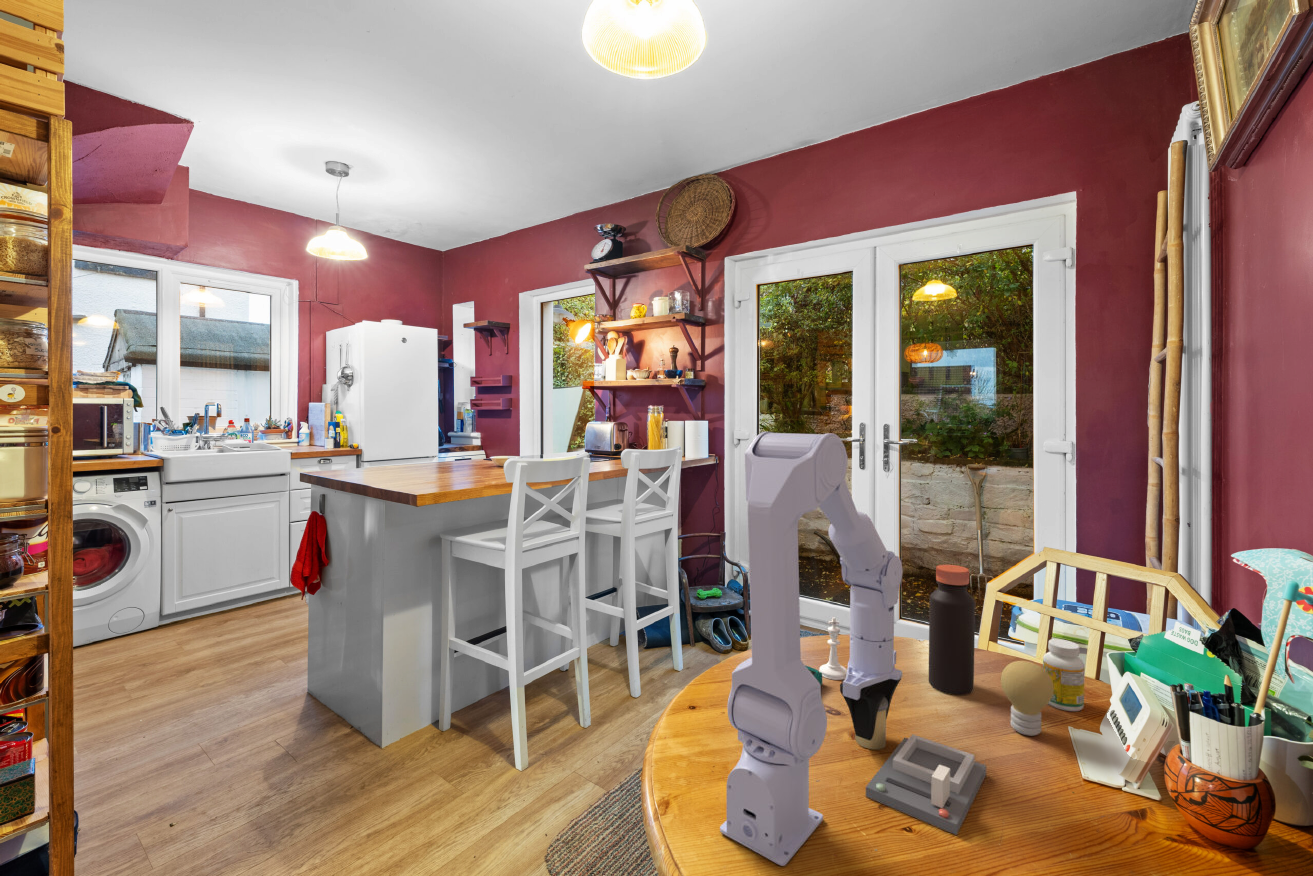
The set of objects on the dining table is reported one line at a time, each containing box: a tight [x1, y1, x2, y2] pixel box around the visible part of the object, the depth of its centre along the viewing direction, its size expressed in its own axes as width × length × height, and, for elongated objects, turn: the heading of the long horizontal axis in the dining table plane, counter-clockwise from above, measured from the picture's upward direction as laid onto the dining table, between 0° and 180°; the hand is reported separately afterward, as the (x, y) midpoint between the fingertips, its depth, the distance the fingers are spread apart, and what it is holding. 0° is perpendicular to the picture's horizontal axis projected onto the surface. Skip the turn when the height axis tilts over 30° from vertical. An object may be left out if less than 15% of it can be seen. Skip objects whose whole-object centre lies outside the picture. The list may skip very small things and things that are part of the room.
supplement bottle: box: [1042, 638, 1086, 712], centre depth 93 cm, size 5×5×10 cm
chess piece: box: [818, 616, 847, 681], centre depth 104 cm, size 5×5×10 cm
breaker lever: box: [931, 765, 950, 808], centre depth 68 cm, size 3×1×3 cm, turn 139°
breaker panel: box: [865, 733, 987, 836], centre depth 73 cm, size 14×10×2 cm
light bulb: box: [1000, 660, 1053, 737], centre depth 85 cm, size 6×6×10 cm
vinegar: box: [928, 564, 976, 696], centre depth 98 cm, size 7×7×20 cm
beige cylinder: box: [854, 697, 888, 750], centre depth 82 cm, size 4×4×6 cm
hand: (870, 729), depth 82 cm, fingers closed on beige cylinder, 4 cm apart
